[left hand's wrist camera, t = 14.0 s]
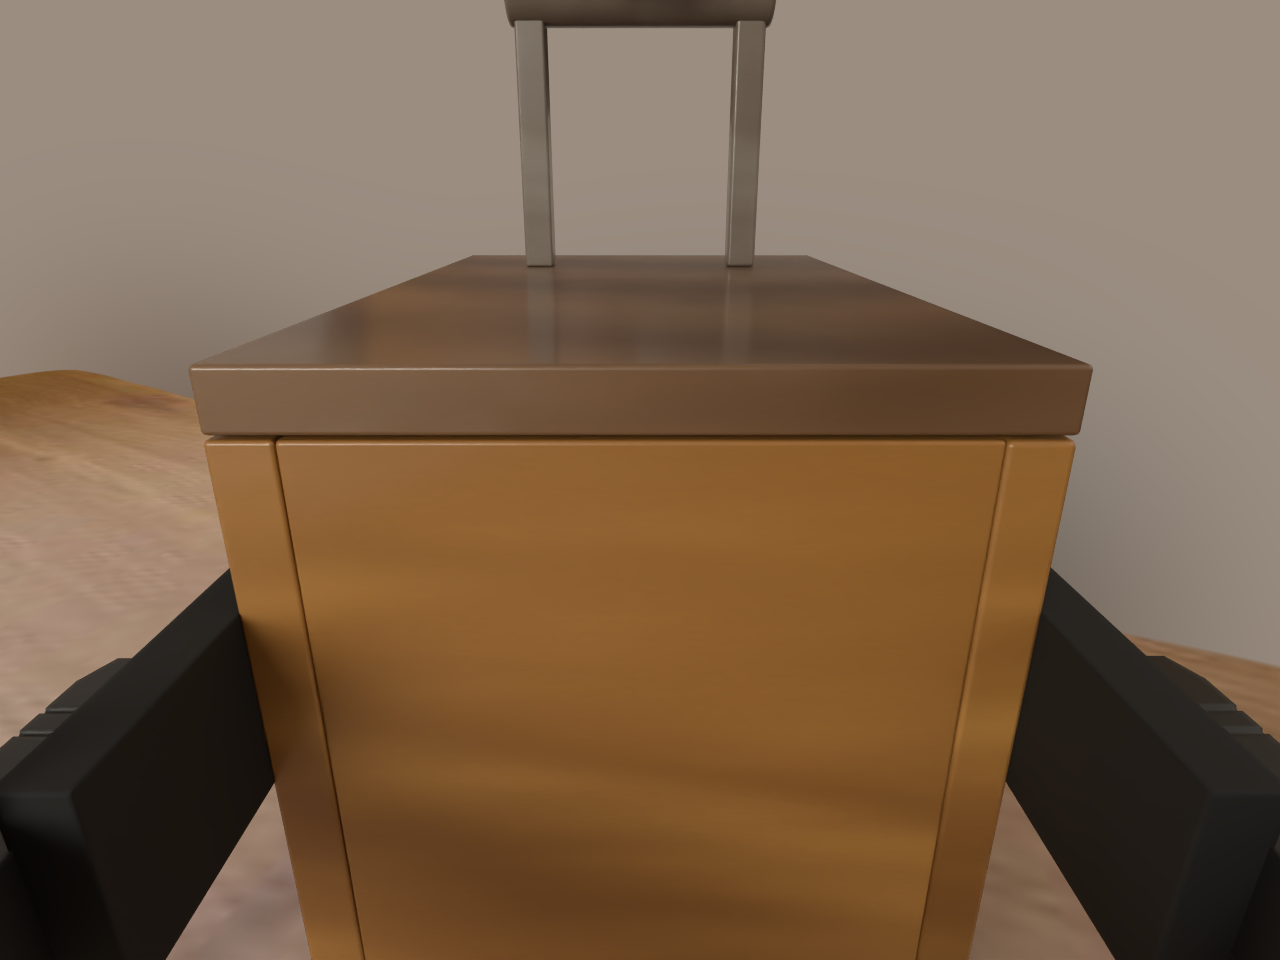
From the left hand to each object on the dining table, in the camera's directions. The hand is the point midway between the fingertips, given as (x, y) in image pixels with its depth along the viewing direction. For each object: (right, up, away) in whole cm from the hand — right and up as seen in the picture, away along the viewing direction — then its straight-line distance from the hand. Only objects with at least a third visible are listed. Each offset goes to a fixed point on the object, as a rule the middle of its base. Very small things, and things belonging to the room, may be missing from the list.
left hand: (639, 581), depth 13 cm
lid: (0, +5, +3) cm, 6 cm away
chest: (0, -5, +6) cm, 8 cm away
